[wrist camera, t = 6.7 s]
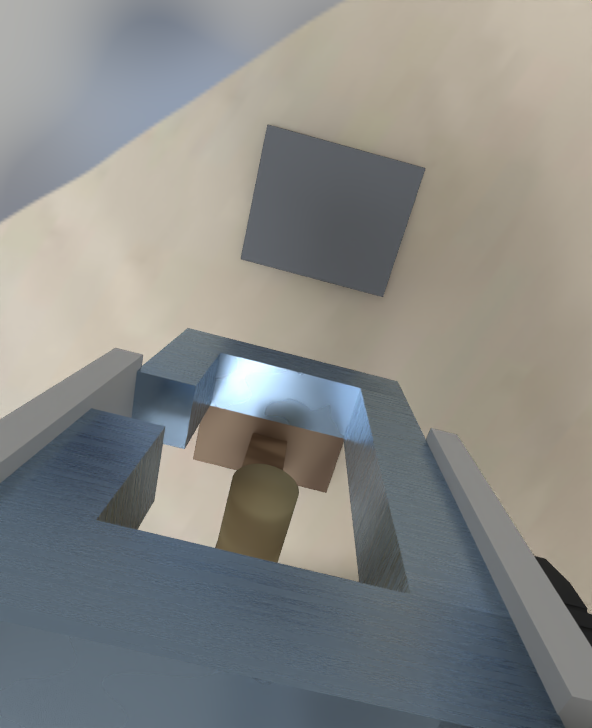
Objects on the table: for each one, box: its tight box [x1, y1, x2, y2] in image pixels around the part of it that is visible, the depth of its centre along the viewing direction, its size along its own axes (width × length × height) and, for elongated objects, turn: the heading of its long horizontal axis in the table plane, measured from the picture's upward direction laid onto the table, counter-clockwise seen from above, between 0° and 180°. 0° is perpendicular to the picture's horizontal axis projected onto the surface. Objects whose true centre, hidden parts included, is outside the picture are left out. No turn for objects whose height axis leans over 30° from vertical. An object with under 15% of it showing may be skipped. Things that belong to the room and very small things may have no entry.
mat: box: [241, 125, 425, 297], centre depth 28 cm, size 11×9×1 cm
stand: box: [193, 405, 344, 563], centre depth 23 cm, size 12×14×24 cm
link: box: [0, 328, 565, 728], centre depth 10 cm, size 8×2×11 cm, turn 76°
